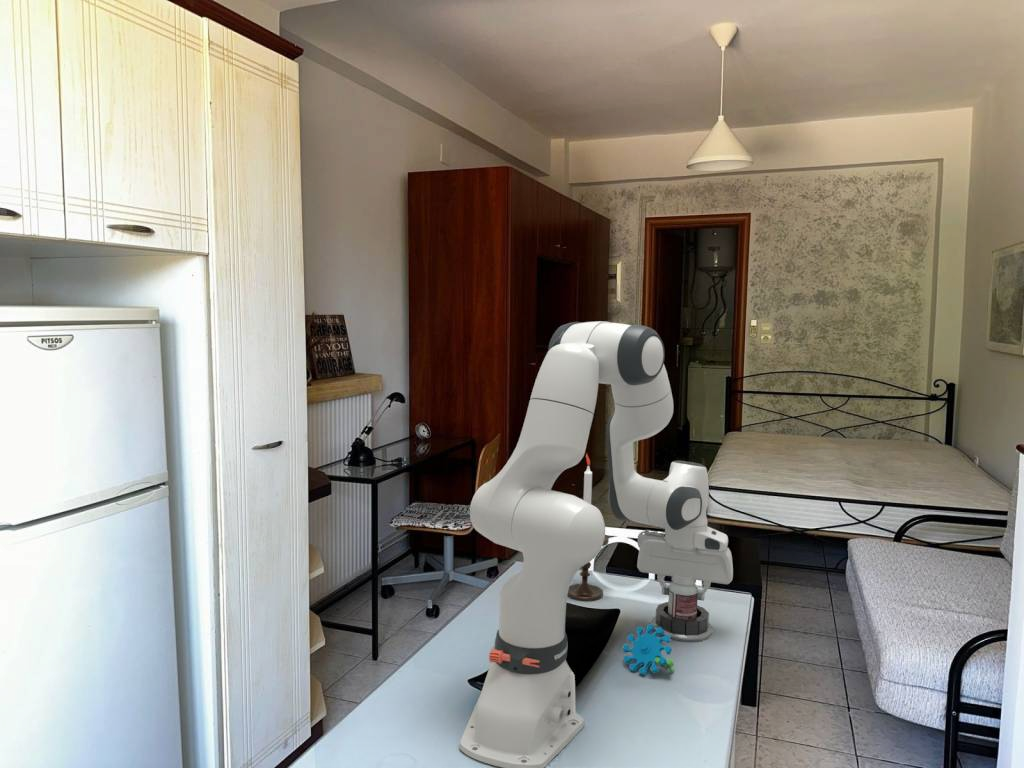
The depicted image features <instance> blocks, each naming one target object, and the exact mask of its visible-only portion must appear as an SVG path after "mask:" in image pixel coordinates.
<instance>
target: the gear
mask: <svg viewBox="0 0 1024 768" xmlns="http://www.w3.org/2000/svg"><path fill="white" fill-rule="evenodd" d="M654 629H655V628H654V626H653V625H652V623H651V624H650V623H647V625H646V631H645V629H644V628H643V627H642V626H637V627H636V628H635V631H636V633H637V639H636V637H635V636H634V635H633V633H630V634H629V635H627V636H626V638H627V640H628V641H629V642H631V643H632V648H630V646H629V645H628V644H627V643H625V644H624V645H623V646H622V650H623V652H624V653H632V656H629V655H627V654H626V655H624V656H623V662H624V663H625V664H626V665H628V664H629V667H628V668H629V669H630V670H631V671H632V672H633V673H636V671H638V672H639V673H640V674H641V675H642V676H646V675H647V674H648V668H649V667H650V669H649V670H650V671H651V672H652V674H655V673H658V672H659V668H658V666H659V667H661V668H662V669H664V670H665V671H669V673H670V674H674V673H675V670H674V669H673V667H674V666H675V663H674V661H673V660H672V659H671V658H667V657H664V656H663V654H662V651H663V650H664V652H665V653H666V654H667V655H671V653H673V652H672V650H673V648H672V647H671V646H670V645H662V642H664V643H667V644H670V643H671V639H670V636H669V635H665V636H663V637H662V636H660V635H663V634H664V633H665V632H664V630H663V629H662V628H661V627H658V628H657V630H656V631H655V632H654ZM644 632H645V633H644ZM643 633H644V634H643ZM658 636H660V637H658ZM635 639H636V640H635ZM635 661H636V662H635ZM631 662H635V663H631ZM642 665H643V666H642ZM650 665H651V666H650ZM640 666H641V667H640ZM639 667H640V668H639ZM638 668H639V669H638Z"/></svg>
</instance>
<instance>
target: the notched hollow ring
mask: <svg viewBox="0 0 1024 768" xmlns="http://www.w3.org/2000/svg"><path fill="white" fill-rule="evenodd" d="M709 621H710V612H708V610H707V609H705V608H704V607H702V606H699V605H698V604H697V618H695V619H682V618H676V617H673V616H670V615H668V601H665V602H663V603H659V604H658V605H657V607H656V608H655V616H654V617H653V618H652V619H651V625H653V626H654V628H655V629H654V631H653V633H654V632H655V631H656V630H657V628H658V627H661V628H662V629H663V630H664V632H665V633H664V634H663V635H659V636H660V637H663V636H665V635H669V636H670V641H676V642H682V643H699V642H704V641H706V639H707V640H708V638H709V639H710V638H711V637H712V635H713V631H714V629H713V625H712V624H711V622H709ZM703 640H704V641H703Z"/></svg>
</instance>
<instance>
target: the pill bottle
mask: <svg viewBox="0 0 1024 768" xmlns="http://www.w3.org/2000/svg"><path fill="white" fill-rule="evenodd" d="M696 583H697V580H694V579H692V577H689V576H682V575H676V574H675V575H674V576H671V582H670V583H669V584H668V585H669V595H668V601H667V602H668V615H670V616H673V617H676V618H682V619H695V618H697V605H698V600H697V592H698V590H699V588H698V586H697V584H696Z"/></svg>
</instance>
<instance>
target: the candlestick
mask: <svg viewBox="0 0 1024 768" xmlns="http://www.w3.org/2000/svg"><path fill="white" fill-rule="evenodd" d="M585 453H586V455H585V458H586V464H587V466H586V470H585V471H584V477H583V500H584V501H586V502H588V503H590V504H591V505H592V491H593V489H592V488H593V471H591V468H590V467H591V460H590V458H589V455H588V453H587V452H585ZM609 539H610V538H609V536H608V535H606V534H605V538H604V542H603V545H602V547H605V546H607V545H608V544H609V542H610V541H609ZM591 566H592V564H591V561H590V562H589V563H587V564H585V565H584V566H582V567H581V568H580V569H581V572H580V573H579V576H580V577H581V583H575V584H570V586H569V589H568V594H567V598H569V599H572V600H576V601H580V602H595V601H599V600H600V599H602V598H603V597H604V590H603V589H602V588H600V587H598V586H596V585H593V584H590V583H588V581H589V580H588V577H590V576H591V573H590V572H589V569H590V568H591Z"/></svg>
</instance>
